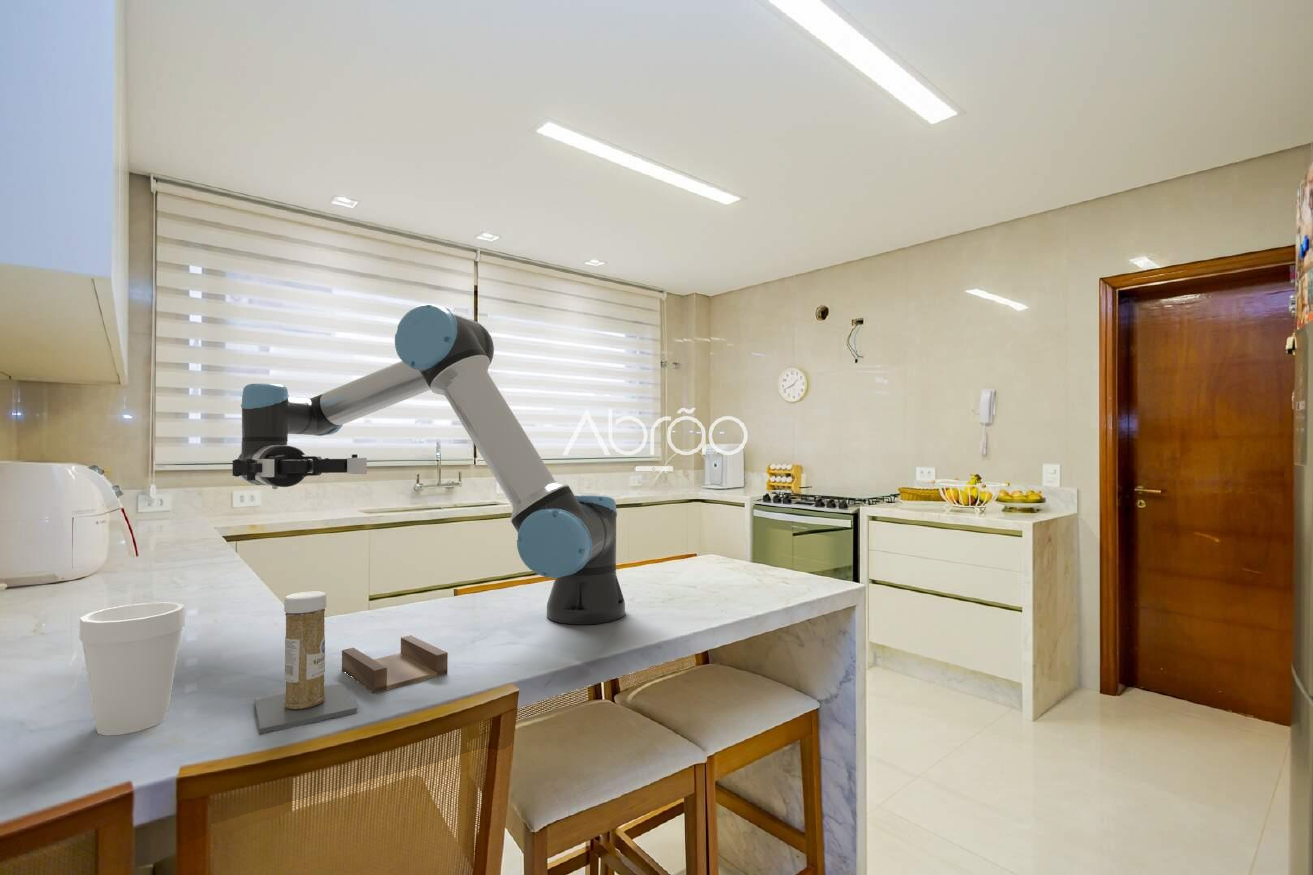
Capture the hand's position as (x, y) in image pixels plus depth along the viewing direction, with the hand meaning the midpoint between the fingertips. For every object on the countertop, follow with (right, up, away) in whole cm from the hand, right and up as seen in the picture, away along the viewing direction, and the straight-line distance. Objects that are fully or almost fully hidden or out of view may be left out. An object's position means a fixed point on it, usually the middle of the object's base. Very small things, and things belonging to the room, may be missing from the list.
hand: (320, 467), depth 100 cm
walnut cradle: (+16, -29, -9) cm, 34 cm away
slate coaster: (+10, -29, -22) cm, 38 cm away
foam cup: (-8, -29, -26) cm, 40 cm away
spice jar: (+10, -28, -22) cm, 37 cm away
